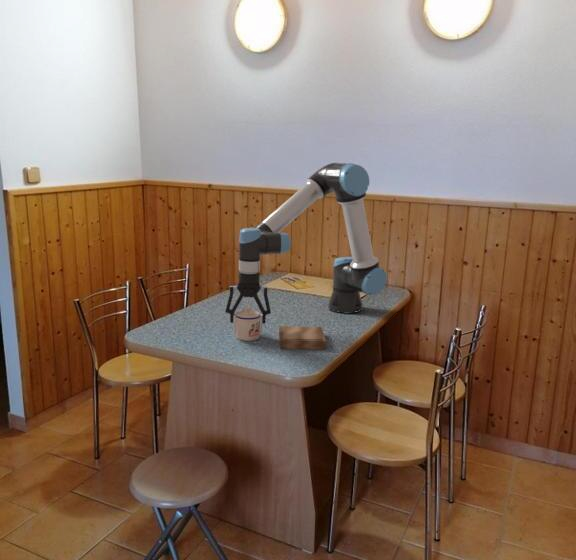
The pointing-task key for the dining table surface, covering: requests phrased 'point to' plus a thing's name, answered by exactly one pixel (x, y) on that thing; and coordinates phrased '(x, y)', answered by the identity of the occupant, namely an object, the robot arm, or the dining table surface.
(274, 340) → the dining table surface
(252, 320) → the teacup with lid
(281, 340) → the walnut base
